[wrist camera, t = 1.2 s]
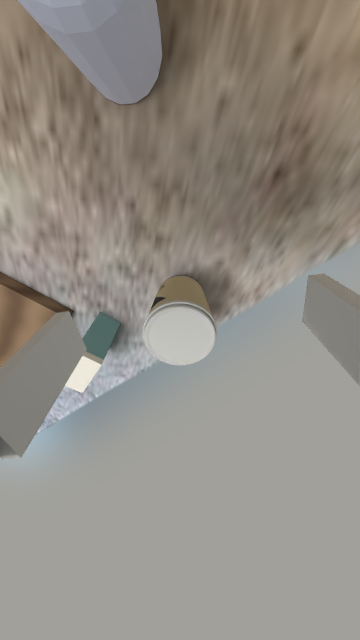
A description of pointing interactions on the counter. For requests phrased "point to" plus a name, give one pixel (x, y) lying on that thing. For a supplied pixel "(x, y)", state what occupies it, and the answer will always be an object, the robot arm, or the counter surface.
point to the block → (93, 351)
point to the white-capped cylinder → (180, 323)
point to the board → (21, 315)
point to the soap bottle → (106, 42)
